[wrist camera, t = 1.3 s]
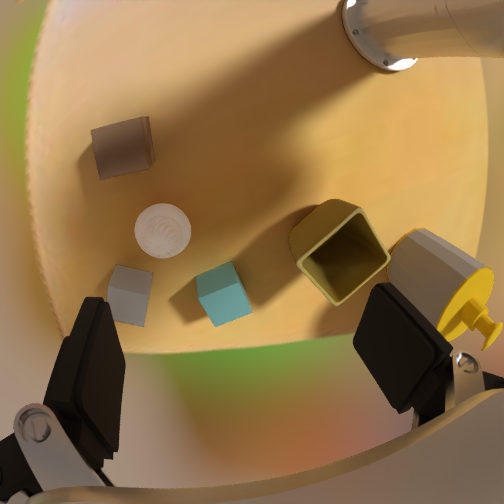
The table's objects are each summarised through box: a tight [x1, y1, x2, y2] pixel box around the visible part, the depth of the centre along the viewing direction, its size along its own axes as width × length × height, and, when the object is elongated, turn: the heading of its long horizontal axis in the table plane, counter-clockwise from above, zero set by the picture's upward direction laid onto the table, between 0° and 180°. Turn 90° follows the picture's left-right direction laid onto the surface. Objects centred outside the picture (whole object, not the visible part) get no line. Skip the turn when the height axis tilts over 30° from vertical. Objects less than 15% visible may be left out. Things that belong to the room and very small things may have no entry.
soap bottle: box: [386, 228, 503, 351], centre depth 34 cm, size 13×13×21 cm
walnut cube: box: [91, 117, 155, 180], centre depth 25 cm, size 5×5×5 cm
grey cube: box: [107, 264, 153, 327], centre depth 33 cm, size 5×5×5 cm
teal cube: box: [196, 261, 252, 327], centre depth 35 cm, size 5×5×5 cm
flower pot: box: [288, 199, 391, 306], centre depth 32 cm, size 9×9×9 cm
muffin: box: [134, 203, 191, 258], centre depth 29 cm, size 6×6×7 cm
